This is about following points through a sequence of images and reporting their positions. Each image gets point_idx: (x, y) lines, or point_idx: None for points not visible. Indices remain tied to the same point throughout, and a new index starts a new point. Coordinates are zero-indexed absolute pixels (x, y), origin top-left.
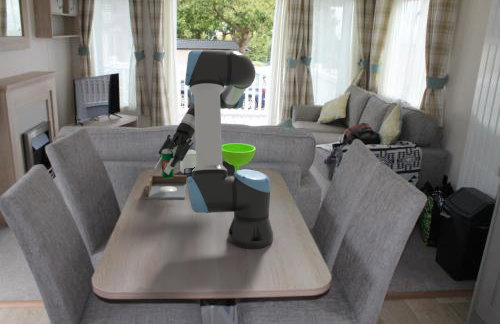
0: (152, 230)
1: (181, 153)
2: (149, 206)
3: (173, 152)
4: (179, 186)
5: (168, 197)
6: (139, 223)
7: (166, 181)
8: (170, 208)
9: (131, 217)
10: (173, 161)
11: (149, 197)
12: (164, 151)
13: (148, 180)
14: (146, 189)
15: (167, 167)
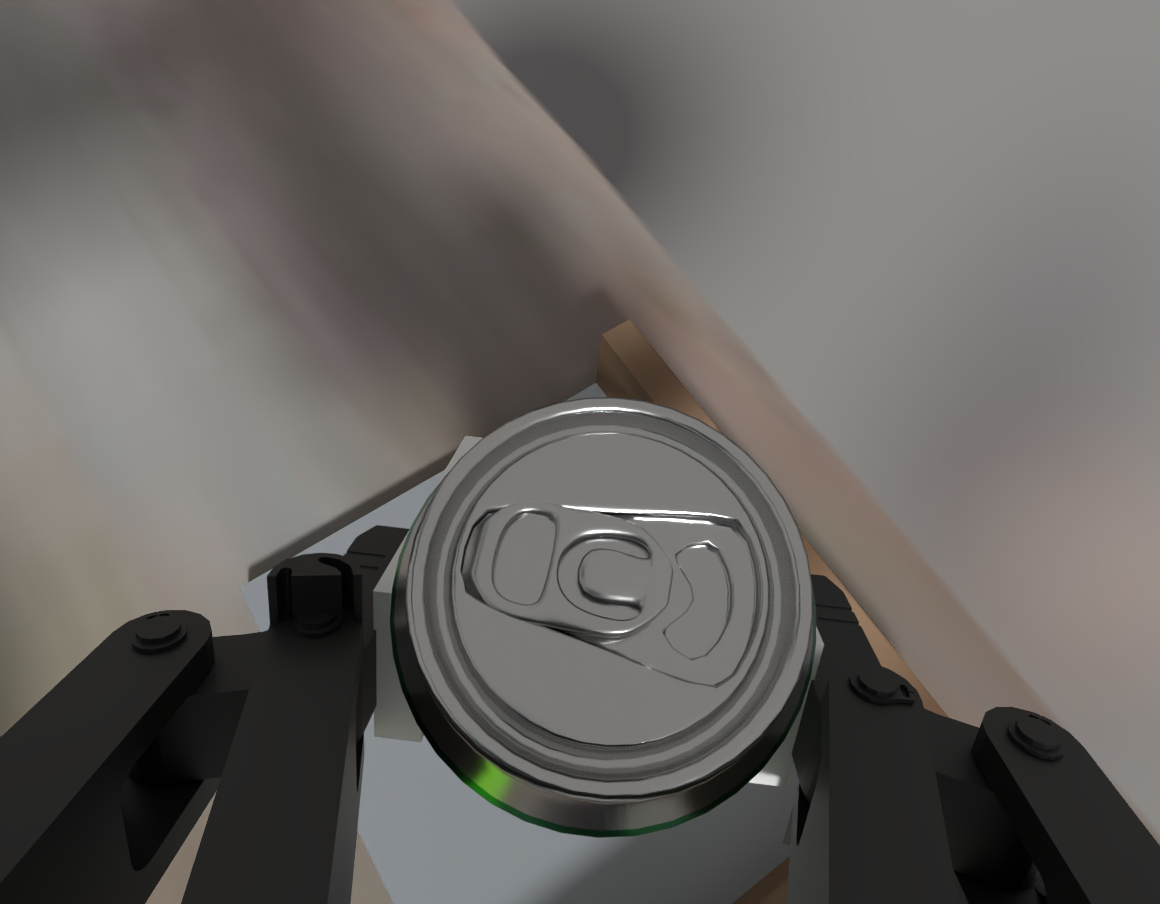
0: (188, 8)
1: (25, 733)
2: (464, 272)
3: (419, 726)
4: (507, 896)
5: (410, 489)
6: (333, 40)
7: (752, 898)
8: (264, 325)
9: (449, 77)
10: (362, 589)
11: (585, 391)
12: (590, 399)
13: (828, 572)
14: (615, 330)
15: (447, 469)
